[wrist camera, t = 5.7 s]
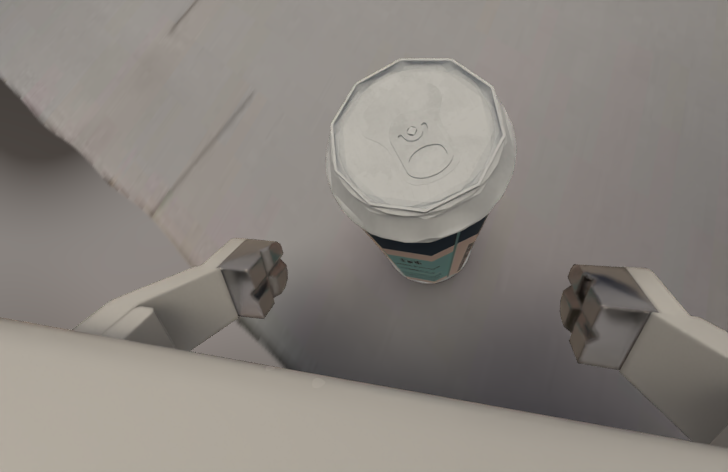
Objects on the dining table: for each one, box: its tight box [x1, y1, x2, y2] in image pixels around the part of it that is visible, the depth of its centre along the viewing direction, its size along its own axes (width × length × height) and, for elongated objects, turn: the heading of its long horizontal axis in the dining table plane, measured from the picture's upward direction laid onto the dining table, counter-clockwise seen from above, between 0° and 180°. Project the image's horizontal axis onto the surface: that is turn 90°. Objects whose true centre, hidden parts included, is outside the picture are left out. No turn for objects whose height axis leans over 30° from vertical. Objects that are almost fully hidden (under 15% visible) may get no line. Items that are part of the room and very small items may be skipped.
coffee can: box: [326, 58, 517, 283], centre depth 13 cm, size 5×5×12 cm
